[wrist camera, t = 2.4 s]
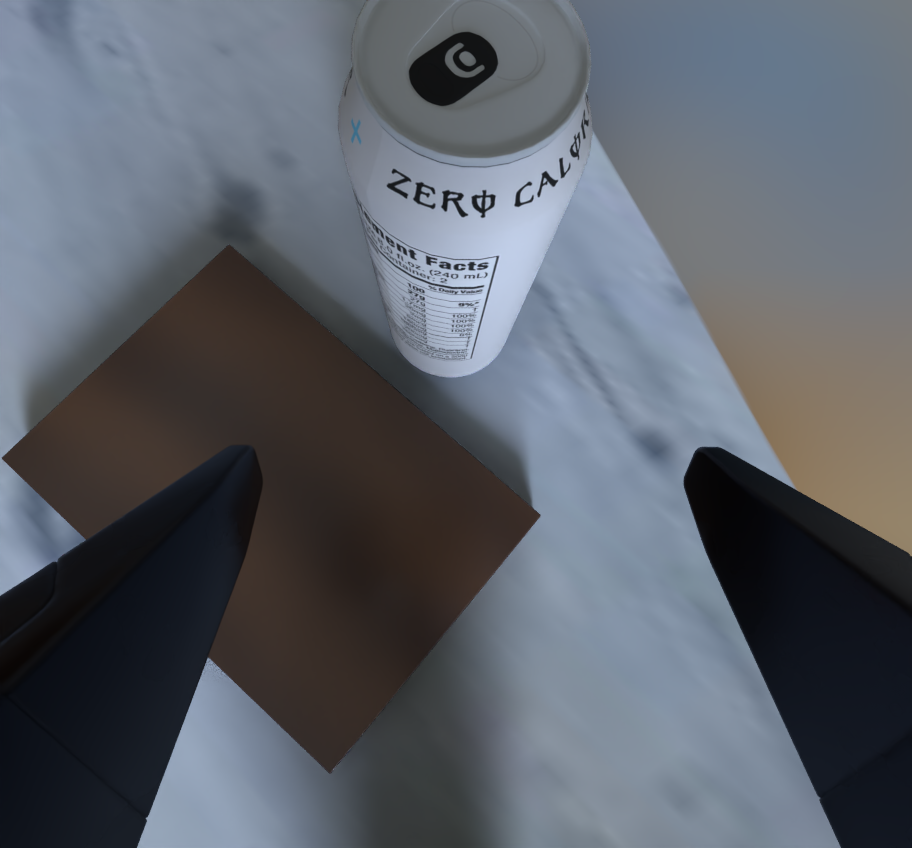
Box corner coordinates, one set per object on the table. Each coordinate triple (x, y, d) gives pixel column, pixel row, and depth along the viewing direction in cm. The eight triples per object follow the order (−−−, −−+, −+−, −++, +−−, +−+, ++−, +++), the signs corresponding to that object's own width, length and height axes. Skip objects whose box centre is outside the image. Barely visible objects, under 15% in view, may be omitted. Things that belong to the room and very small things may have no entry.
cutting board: (337, 754, 21) (329, 774, 19) (29, 460, 22) (0, 458, 21) (534, 514, 23) (541, 515, 21) (241, 259, 24) (228, 243, 23)
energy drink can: (530, 333, 24) (681, 73, 9) (442, 406, 23) (456, 247, 8) (455, 250, 25) (486, -120, 10) (367, 318, 24) (257, 26, 9)
